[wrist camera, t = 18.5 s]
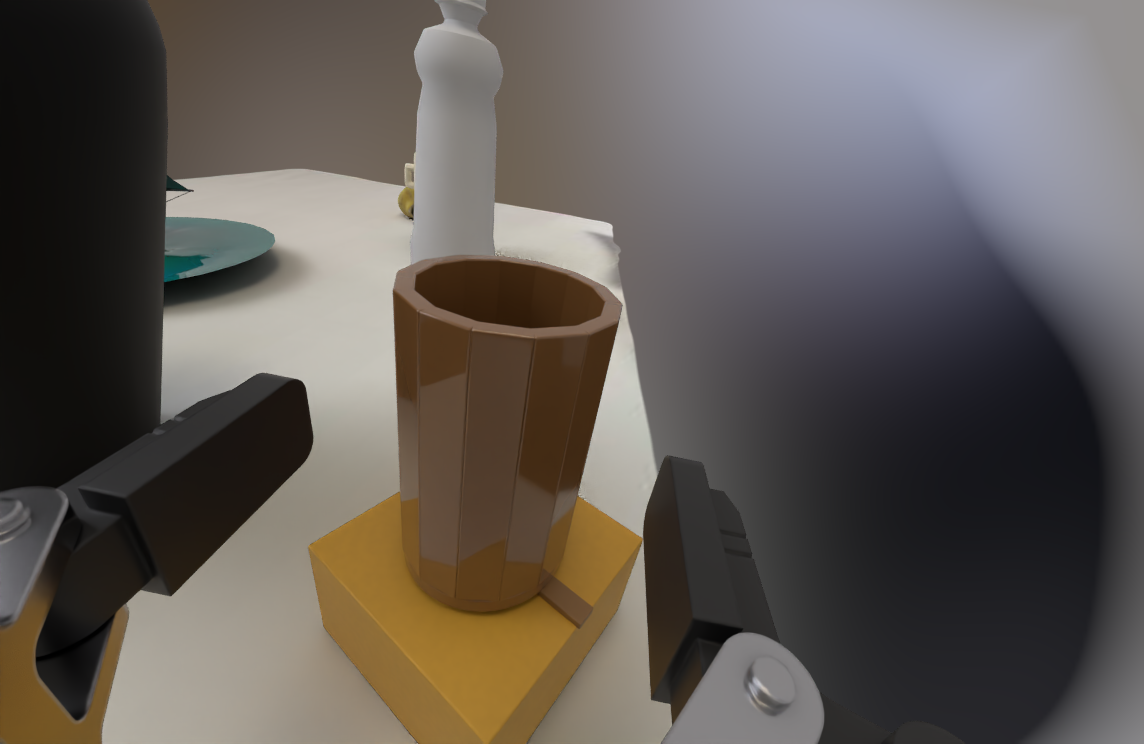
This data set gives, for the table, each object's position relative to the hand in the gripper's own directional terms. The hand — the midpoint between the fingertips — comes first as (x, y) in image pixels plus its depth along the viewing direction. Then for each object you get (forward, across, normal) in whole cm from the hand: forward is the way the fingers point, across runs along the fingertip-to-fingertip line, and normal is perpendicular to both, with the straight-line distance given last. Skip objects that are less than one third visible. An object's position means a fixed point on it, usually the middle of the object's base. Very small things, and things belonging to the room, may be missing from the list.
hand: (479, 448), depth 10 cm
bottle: (+40, +14, +13) cm, 44 cm away
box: (+4, 0, +13) cm, 13 cm away
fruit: (+75, +34, +13) cm, 83 cm away
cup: (+4, 0, +8) cm, 8 cm away
